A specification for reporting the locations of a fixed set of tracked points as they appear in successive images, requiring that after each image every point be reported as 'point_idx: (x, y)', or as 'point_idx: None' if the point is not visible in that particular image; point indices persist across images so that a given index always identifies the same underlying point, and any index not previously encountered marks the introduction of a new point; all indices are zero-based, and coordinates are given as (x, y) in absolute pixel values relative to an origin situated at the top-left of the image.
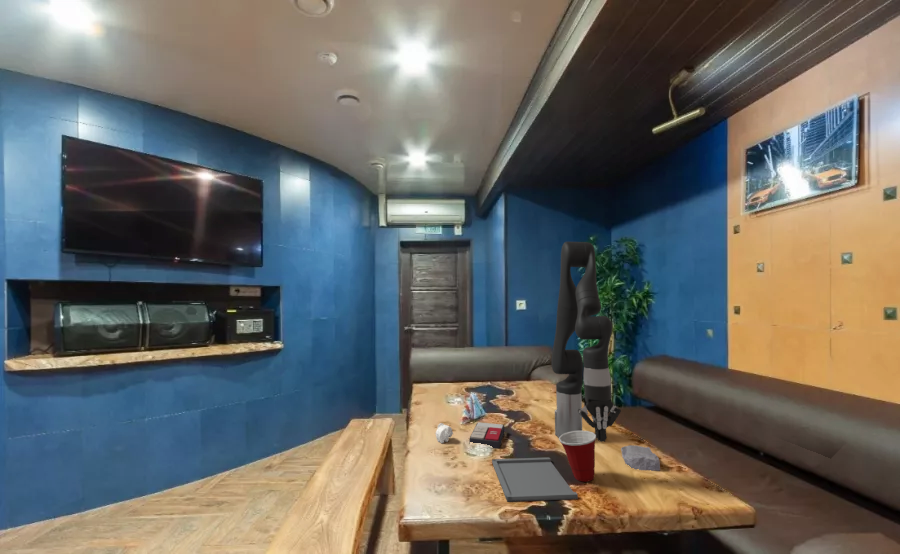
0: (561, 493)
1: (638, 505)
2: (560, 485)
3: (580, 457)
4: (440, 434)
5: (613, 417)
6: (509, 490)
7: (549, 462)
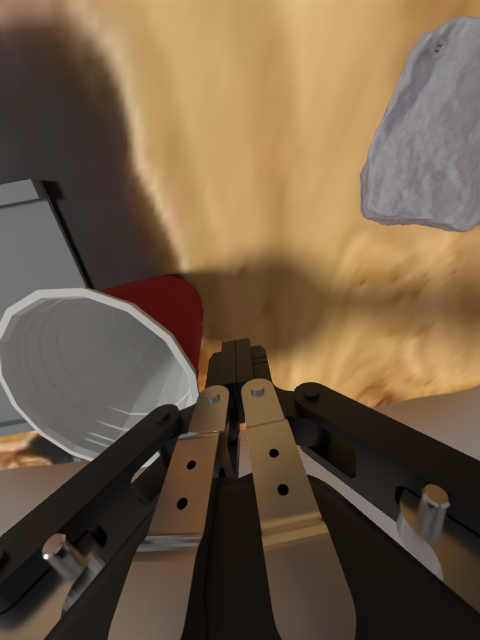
0: None
1: None
2: None
3: (133, 397)
4: None
5: (369, 492)
6: None
7: (41, 207)
